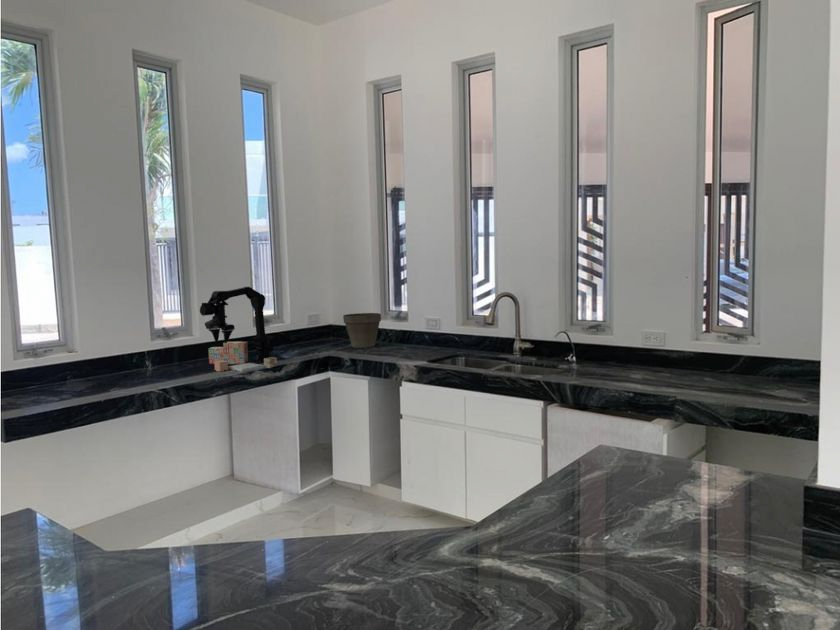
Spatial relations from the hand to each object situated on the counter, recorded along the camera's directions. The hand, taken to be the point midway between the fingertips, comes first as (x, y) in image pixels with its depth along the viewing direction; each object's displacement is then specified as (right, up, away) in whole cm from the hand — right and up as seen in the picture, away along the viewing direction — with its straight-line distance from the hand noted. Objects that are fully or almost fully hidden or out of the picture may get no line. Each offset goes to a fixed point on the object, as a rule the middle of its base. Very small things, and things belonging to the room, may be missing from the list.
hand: (221, 342), depth 364 cm
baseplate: (+13, -14, +1) cm, 19 cm away
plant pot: (+71, -6, +75) cm, 104 cm away
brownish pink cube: (+1, -15, -3) cm, 15 cm away
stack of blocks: (-2, -13, +23) cm, 26 cm away
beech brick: (+26, -14, +5) cm, 30 cm away
